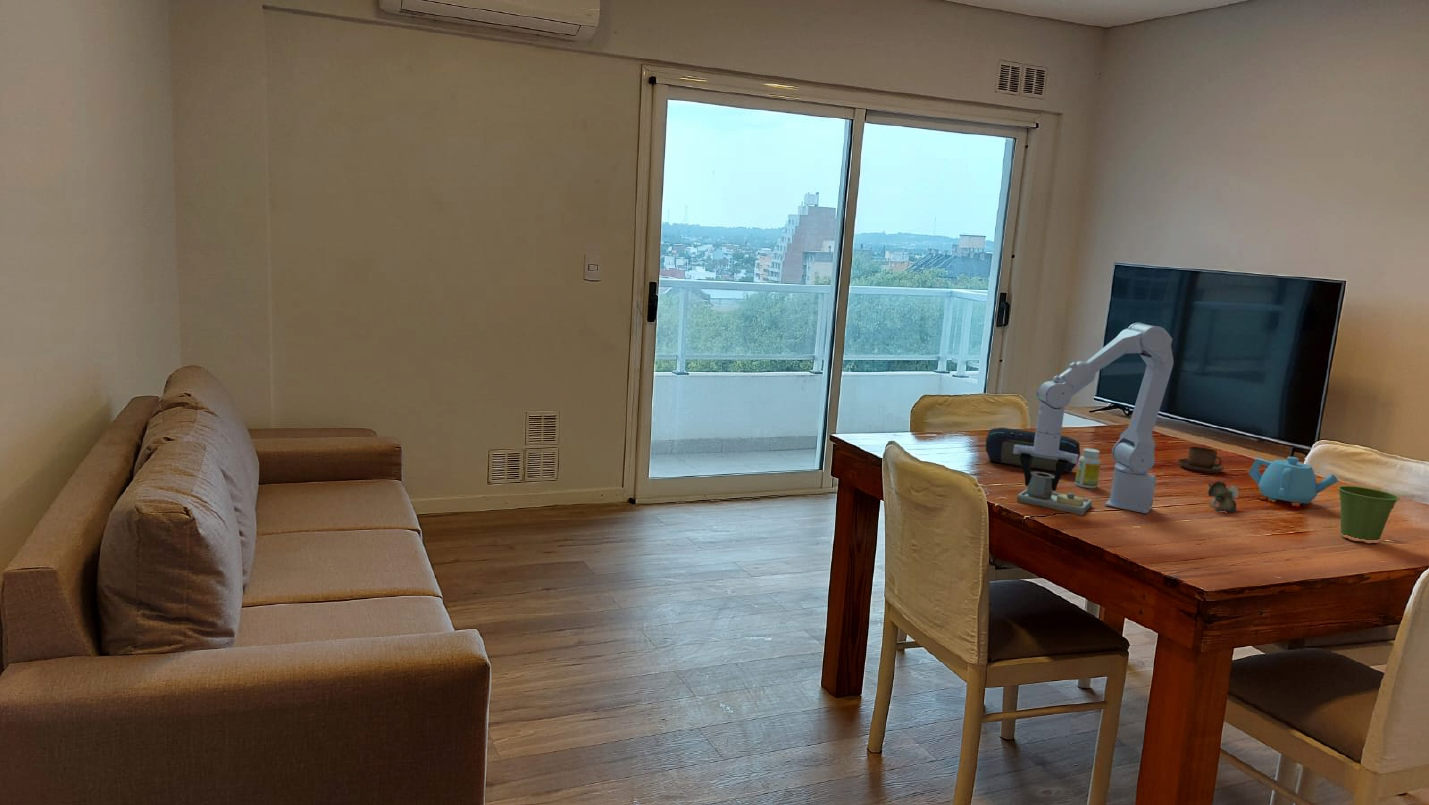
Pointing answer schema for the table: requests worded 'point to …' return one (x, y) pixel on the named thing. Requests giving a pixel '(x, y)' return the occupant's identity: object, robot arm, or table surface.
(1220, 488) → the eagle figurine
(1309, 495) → the teapot
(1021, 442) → the portable speaker
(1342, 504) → the plant pot
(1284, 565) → the table surface
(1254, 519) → the table surface
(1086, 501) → the carrier board
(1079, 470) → the supplement bottle
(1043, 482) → the grey hexagonal nut
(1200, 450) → the cup and saucer
